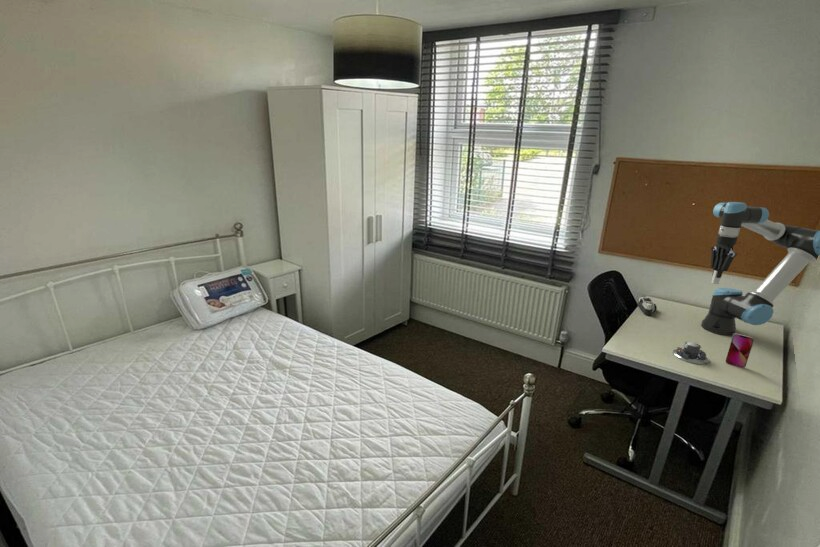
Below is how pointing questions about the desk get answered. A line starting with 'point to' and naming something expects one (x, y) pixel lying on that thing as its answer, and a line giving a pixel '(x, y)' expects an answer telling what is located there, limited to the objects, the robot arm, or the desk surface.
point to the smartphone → (739, 350)
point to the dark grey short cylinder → (692, 349)
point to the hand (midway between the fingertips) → (714, 283)
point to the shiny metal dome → (685, 356)
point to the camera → (647, 306)
